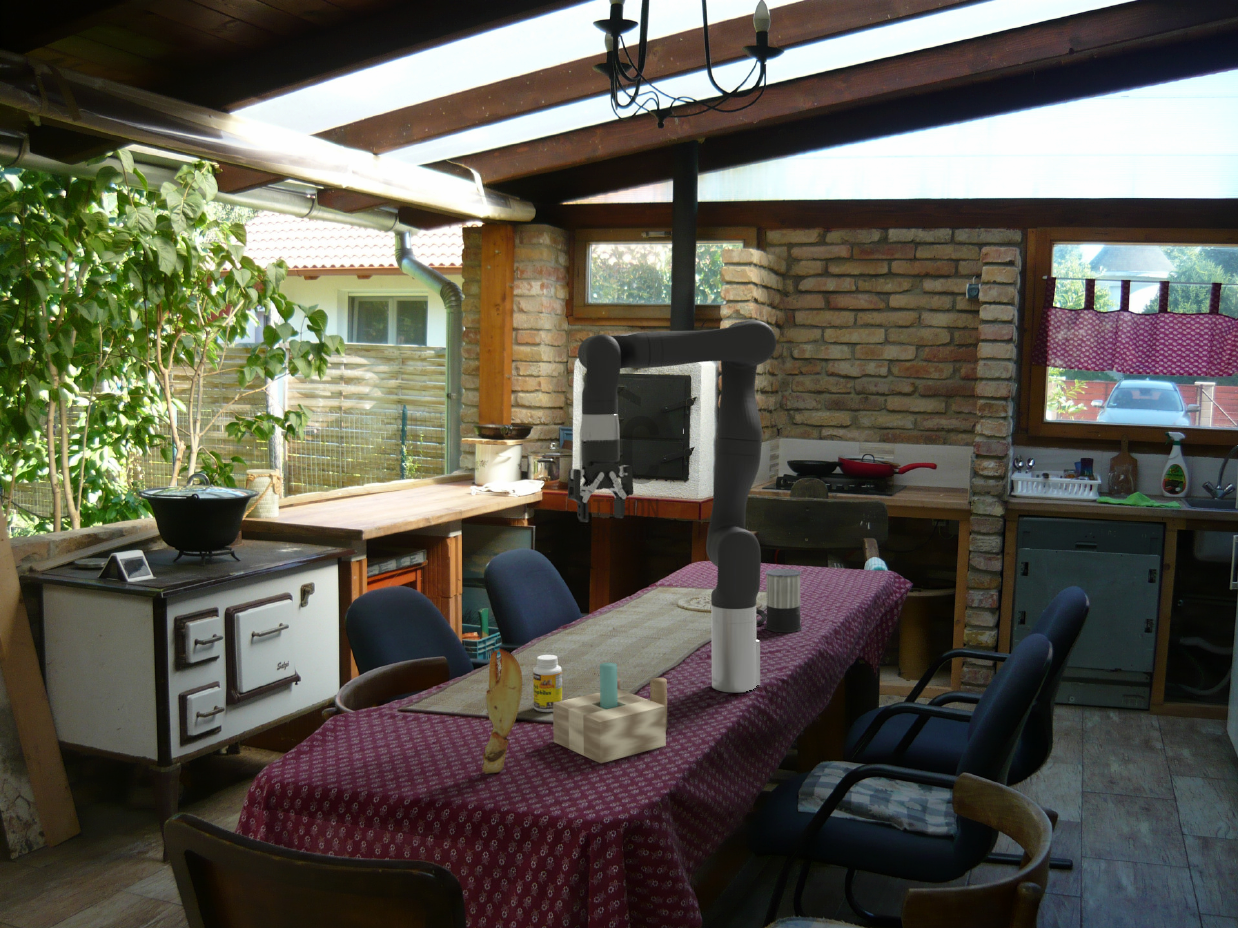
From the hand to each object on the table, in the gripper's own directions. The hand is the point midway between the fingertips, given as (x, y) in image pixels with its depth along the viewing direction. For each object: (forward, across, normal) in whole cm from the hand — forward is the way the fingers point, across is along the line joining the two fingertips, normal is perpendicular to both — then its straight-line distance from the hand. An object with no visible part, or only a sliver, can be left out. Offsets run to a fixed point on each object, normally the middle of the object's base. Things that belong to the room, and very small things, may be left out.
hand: (601, 519), depth 212 cm
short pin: (+36, +3, +7) cm, 37 cm away
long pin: (+36, +15, +22) cm, 45 cm away
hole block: (+36, +15, +22) cm, 45 cm away
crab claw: (+36, +37, +22) cm, 56 cm away
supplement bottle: (+36, +12, -2) cm, 38 cm away
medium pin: (+36, +3, +21) cm, 42 cm away
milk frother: (+36, -71, -25) cm, 84 cm away
